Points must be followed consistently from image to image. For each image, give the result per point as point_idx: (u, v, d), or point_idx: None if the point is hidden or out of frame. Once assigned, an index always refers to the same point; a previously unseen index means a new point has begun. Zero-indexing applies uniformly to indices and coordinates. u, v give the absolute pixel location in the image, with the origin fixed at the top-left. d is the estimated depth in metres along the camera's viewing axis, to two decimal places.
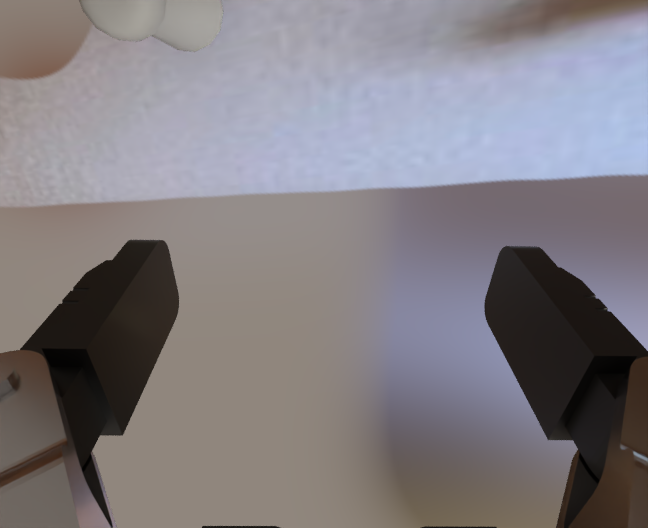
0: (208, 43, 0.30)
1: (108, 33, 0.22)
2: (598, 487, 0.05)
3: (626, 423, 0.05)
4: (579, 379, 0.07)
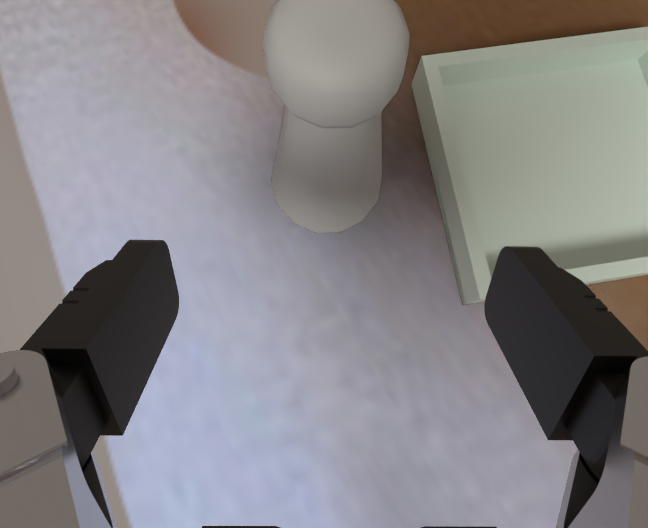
0: (293, 218, 0.20)
1: (269, 24, 0.11)
2: (598, 487, 0.05)
3: (626, 423, 0.05)
4: (579, 379, 0.07)
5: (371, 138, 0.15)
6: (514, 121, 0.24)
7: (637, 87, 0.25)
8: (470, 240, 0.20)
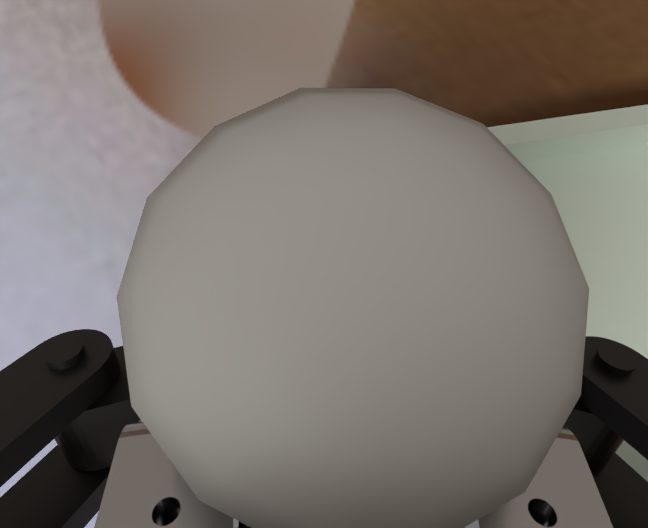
0: None
1: (131, 270, 0.03)
2: None
3: None
4: None
5: None
6: (602, 220, 0.16)
7: None
8: None
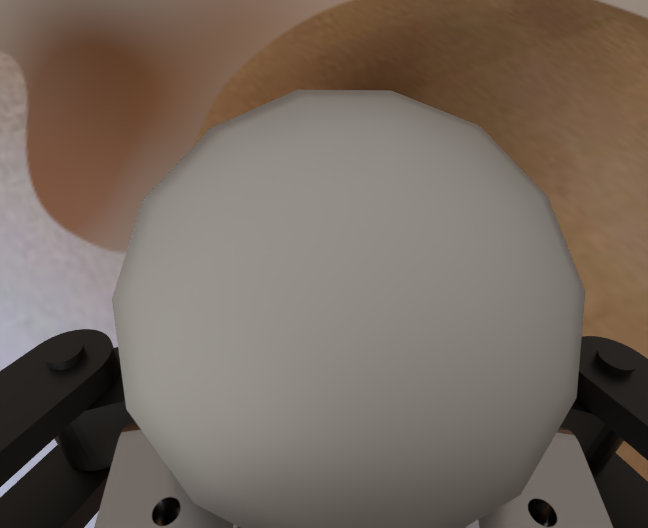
0: None
1: (126, 273, 0.03)
2: None
3: None
4: None
5: None
6: None
7: None
8: None
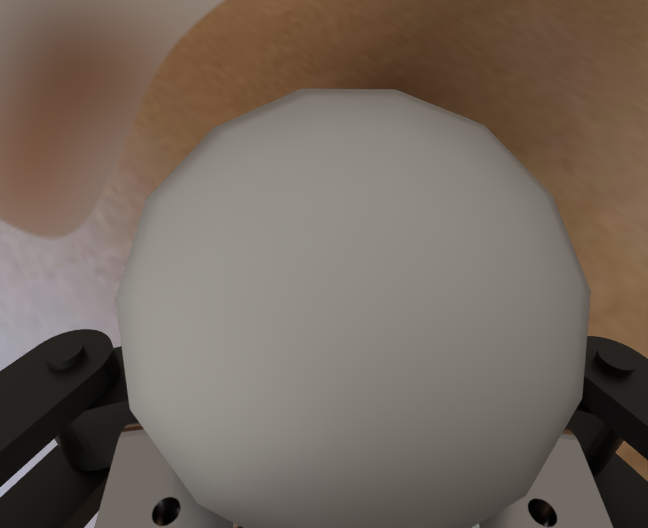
0: None
1: (129, 272, 0.03)
2: None
3: None
4: None
5: None
6: None
7: None
8: None
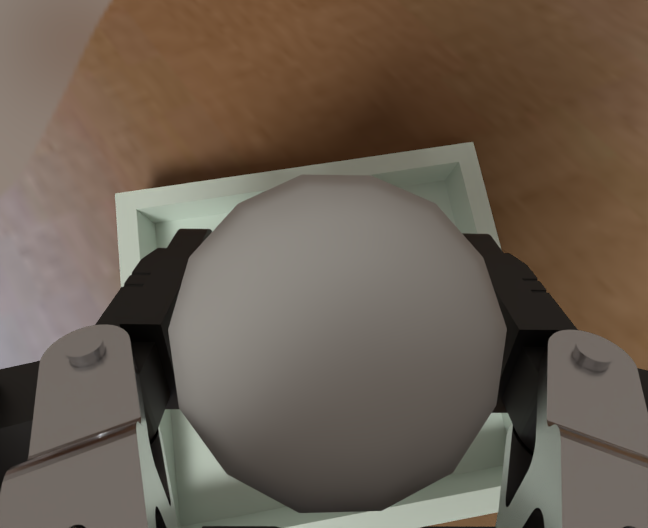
0: None
1: (179, 312, 0.05)
2: (532, 464, 0.05)
3: (549, 398, 0.05)
4: (509, 353, 0.07)
5: None
6: None
7: None
8: None
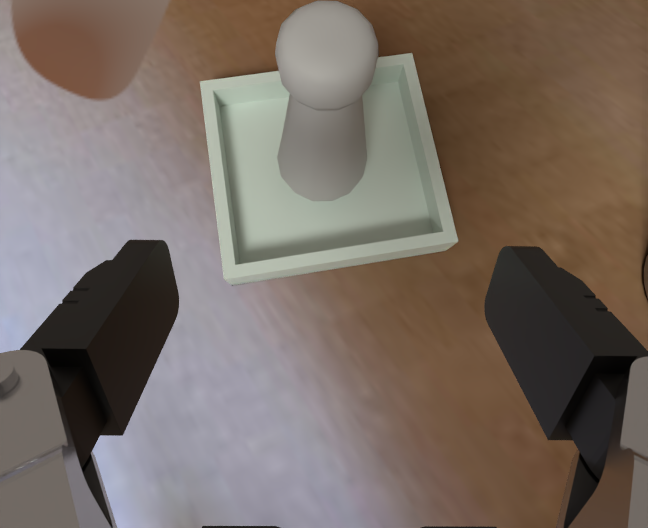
0: (295, 188, 0.25)
1: (280, 36, 0.16)
2: (598, 487, 0.05)
3: (626, 423, 0.05)
4: (579, 379, 0.07)
5: (354, 120, 0.20)
6: None
7: (394, 105, 0.30)
8: (221, 232, 0.25)
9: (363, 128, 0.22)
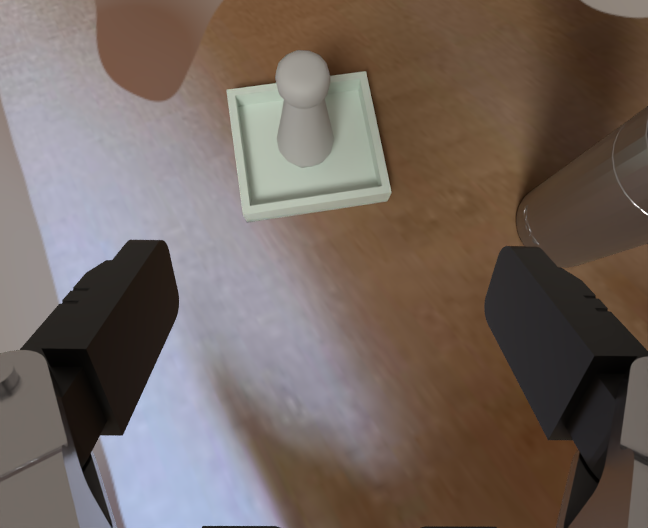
0: (287, 158, 0.40)
1: (277, 69, 0.31)
2: (598, 487, 0.05)
3: (626, 423, 0.05)
4: (579, 379, 0.07)
5: (321, 114, 0.35)
6: None
7: (355, 105, 0.44)
8: (241, 185, 0.40)
9: (328, 119, 0.37)
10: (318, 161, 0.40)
